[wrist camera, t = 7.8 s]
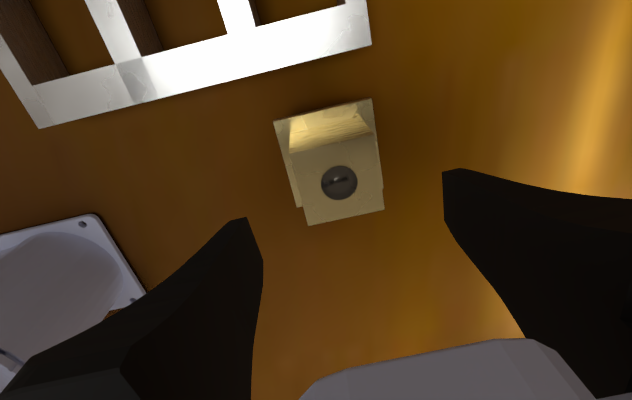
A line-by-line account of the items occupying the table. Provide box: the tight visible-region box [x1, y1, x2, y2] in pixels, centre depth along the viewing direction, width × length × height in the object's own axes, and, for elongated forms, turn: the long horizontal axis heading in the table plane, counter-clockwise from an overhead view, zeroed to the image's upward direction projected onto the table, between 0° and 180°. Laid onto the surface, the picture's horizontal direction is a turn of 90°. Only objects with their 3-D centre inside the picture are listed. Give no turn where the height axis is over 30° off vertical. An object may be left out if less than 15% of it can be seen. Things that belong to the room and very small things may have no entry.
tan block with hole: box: [273, 97, 385, 226], centre depth 17 cm, size 5×5×7 cm
